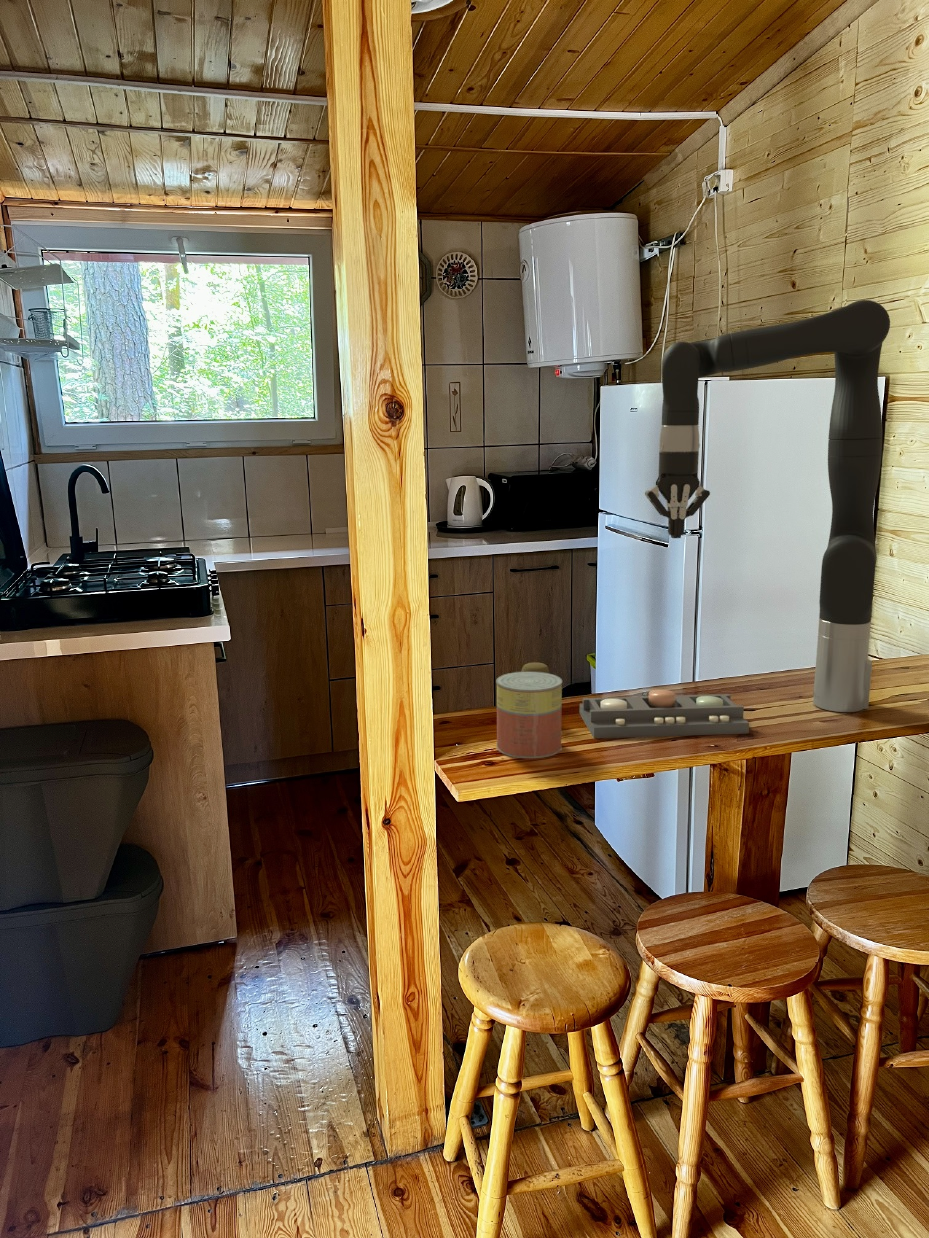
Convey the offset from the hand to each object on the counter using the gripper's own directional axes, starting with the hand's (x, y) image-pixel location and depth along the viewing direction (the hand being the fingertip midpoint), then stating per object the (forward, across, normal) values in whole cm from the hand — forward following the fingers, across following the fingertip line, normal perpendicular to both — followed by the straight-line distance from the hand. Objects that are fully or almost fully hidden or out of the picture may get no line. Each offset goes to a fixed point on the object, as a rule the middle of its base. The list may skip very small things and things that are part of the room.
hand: (675, 537), depth 184 cm
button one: (+30, +16, +19) cm, 39 cm away
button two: (+30, -2, +19) cm, 35 cm away
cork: (+32, +30, +15) cm, 46 cm away
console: (+32, +7, +19) cm, 38 cm away
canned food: (+32, +33, +29) cm, 55 cm away
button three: (+28, +7, +19) cm, 35 cm away
